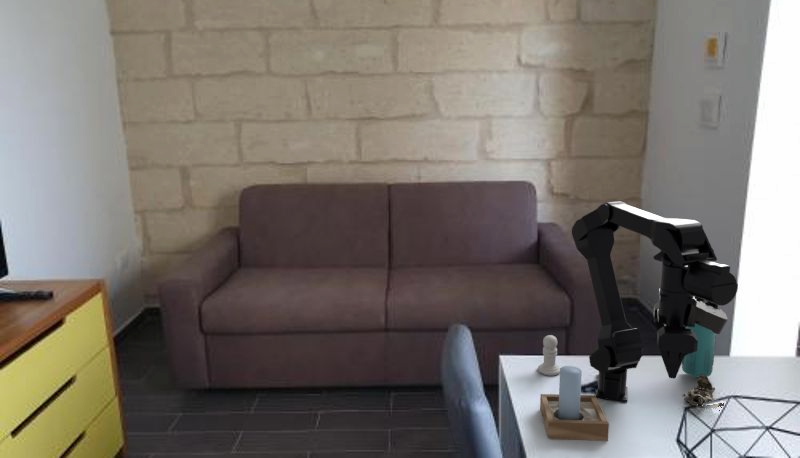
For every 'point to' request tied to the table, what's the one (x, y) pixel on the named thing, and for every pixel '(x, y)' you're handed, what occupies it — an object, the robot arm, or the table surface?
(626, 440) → the table surface
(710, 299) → the robot arm
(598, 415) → the walnut box
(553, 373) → the chess piece
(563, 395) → the peg
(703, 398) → the crumpled brown clump
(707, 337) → the beverage bottle
